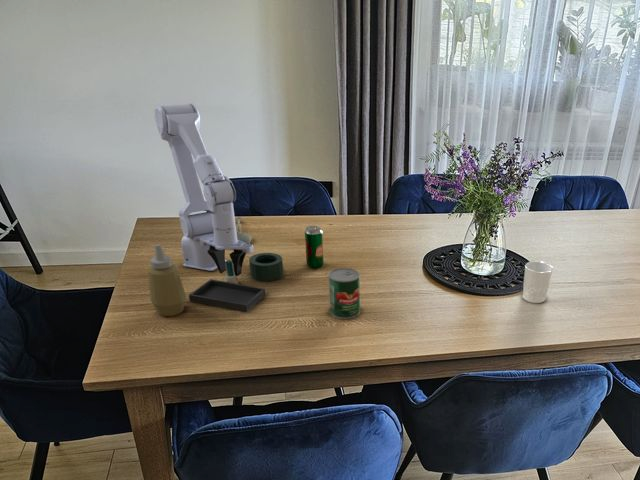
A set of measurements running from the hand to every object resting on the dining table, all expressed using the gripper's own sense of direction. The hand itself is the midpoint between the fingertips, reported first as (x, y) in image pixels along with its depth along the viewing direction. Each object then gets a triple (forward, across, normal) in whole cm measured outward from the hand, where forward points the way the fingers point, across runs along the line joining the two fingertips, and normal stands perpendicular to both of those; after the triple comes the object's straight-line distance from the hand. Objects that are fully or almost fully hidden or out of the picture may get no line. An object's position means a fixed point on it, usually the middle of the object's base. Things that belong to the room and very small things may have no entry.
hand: (230, 273), depth 168 cm
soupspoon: (+4, -16, +34) cm, 38 cm away
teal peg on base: (+3, 0, 0) cm, 3 cm away
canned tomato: (+4, +35, -4) cm, 35 cm away
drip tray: (+3, +4, -8) cm, 9 cm away
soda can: (+4, +16, +20) cm, 26 cm away
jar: (+3, +6, +9) cm, 11 cm away
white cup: (+4, +83, +23) cm, 86 cm away
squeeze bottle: (+4, -6, -19) cm, 20 cm away
